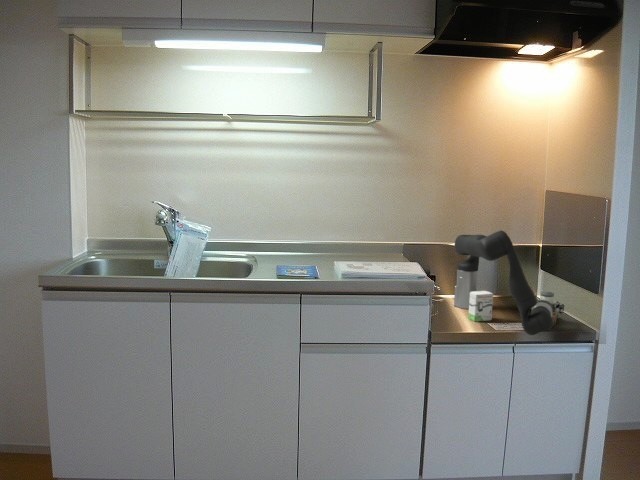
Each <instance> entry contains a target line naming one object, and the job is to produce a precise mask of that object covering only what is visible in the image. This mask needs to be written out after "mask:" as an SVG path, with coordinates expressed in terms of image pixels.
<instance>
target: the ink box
mask: <svg viewBox="0 0 640 480" xmlns="http://www.w3.org/2000/svg"><path fill="white" fill-rule="evenodd" d="M493 300H494V293H492V292H490V291H488V290H477V291H474V292H470V299H469V309H468V319H469V320H470V321H473V322H485V321H491V320H492V319H493V318H492V317H493V316H492V315H493V302H494V301H493Z"/></svg>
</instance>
